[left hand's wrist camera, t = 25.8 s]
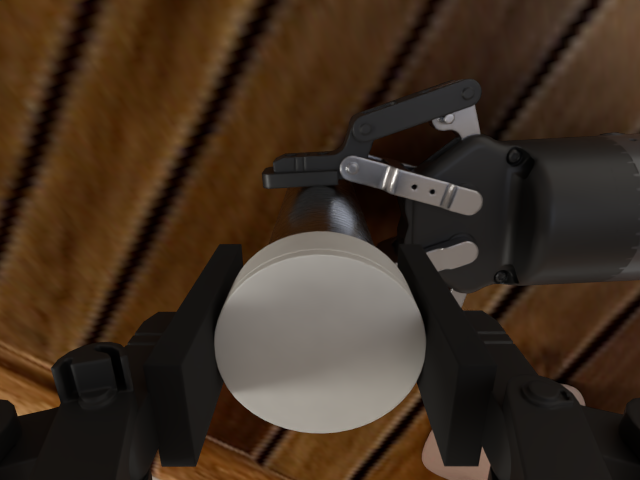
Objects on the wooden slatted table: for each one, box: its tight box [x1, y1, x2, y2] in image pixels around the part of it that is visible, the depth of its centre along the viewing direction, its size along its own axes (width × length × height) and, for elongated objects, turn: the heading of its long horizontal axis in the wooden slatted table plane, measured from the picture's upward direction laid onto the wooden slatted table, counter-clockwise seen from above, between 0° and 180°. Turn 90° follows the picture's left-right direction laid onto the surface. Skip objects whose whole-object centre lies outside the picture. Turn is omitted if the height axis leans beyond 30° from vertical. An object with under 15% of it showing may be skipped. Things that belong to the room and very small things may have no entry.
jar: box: [269, 179, 374, 246], centre depth 20 cm, size 4×4×16 cm
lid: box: [214, 231, 426, 433], centre depth 11 cm, size 6×6×2 cm
